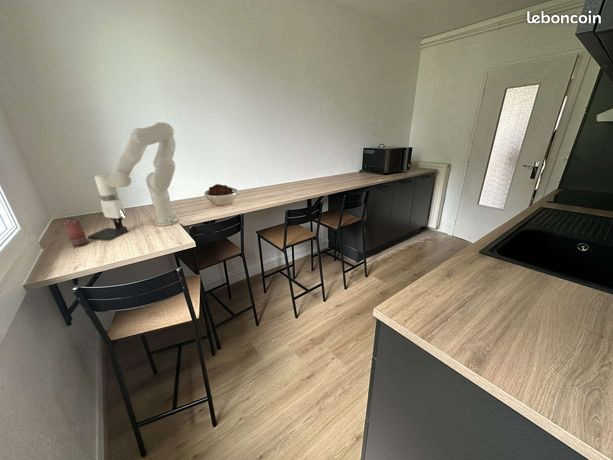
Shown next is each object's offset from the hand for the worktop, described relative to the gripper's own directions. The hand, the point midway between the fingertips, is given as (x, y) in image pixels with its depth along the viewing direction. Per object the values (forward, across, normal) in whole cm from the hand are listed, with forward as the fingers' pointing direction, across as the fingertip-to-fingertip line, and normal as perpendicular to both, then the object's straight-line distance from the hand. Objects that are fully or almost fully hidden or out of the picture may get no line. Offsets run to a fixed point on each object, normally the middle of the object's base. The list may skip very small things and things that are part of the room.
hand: (119, 228), depth 144 cm
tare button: (+1, 0, 0) cm, 1 cm away
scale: (+3, -5, -4) cm, 7 cm away
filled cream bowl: (+3, +31, +62) cm, 69 cm away
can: (+4, -8, -17) cm, 19 cm away
